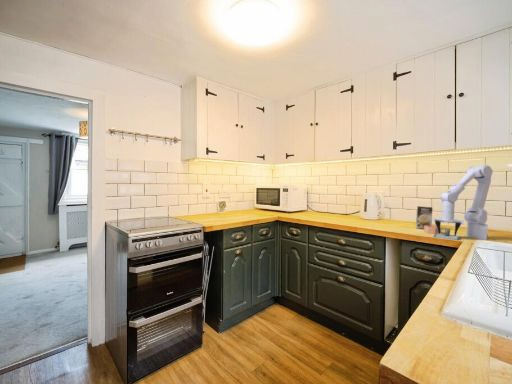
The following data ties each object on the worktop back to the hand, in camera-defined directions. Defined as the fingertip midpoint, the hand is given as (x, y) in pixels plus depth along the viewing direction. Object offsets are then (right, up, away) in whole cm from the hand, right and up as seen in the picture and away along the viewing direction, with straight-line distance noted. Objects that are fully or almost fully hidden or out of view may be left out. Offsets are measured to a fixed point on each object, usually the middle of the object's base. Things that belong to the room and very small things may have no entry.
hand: (447, 234), depth 151 cm
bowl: (+1, -2, +14) cm, 14 cm away
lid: (0, -2, 0) cm, 2 cm away
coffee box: (+6, -1, +30) cm, 30 cm away
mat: (0, -2, 0) cm, 2 cm away
